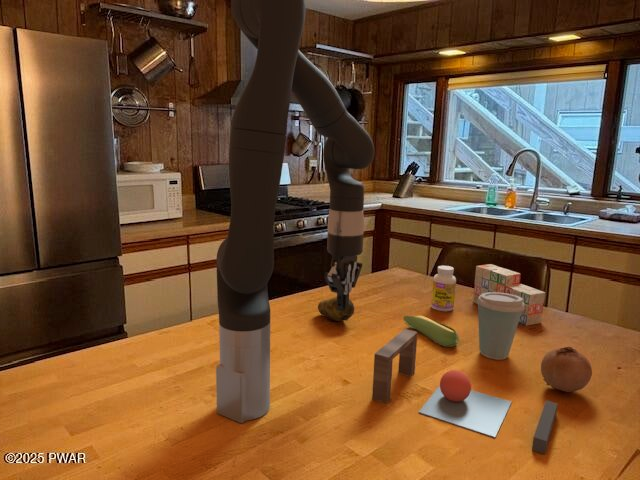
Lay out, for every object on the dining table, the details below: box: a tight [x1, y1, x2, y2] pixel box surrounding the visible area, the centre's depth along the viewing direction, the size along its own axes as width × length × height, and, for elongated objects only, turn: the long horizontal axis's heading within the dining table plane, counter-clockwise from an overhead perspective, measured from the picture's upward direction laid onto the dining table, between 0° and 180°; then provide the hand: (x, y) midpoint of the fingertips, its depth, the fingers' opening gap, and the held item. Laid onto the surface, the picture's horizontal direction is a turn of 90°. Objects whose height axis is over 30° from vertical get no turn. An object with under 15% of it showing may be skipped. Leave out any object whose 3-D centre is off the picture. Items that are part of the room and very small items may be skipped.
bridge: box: [371, 328, 419, 404], centre depth 102 cm, size 15×3×10 cm, turn 148°
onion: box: [540, 346, 593, 393], centre depth 102 cm, size 10×9×10 cm
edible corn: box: [402, 315, 460, 348], centre depth 129 cm, size 5×20×5 cm, turn 29°
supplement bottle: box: [430, 265, 457, 312], centre depth 149 cm, size 7×7×13 cm
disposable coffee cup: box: [477, 292, 524, 361], centre depth 118 cm, size 11×11×15 cm
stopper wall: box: [531, 400, 558, 455], centre depth 88 cm, size 14×2×2 cm, turn 148°
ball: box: [439, 369, 472, 402], centre depth 98 cm, size 6×6×6 cm
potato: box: [317, 296, 355, 322], centre depth 137 cm, size 8×13×8 cm, turn 14°
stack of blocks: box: [472, 263, 546, 327], centre depth 147 cm, size 21×6×12 cm, turn 25°
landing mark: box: [418, 385, 513, 439], centre depth 95 cm, size 14×14×1 cm
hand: (342, 309), depth 107 cm, fingers closed
